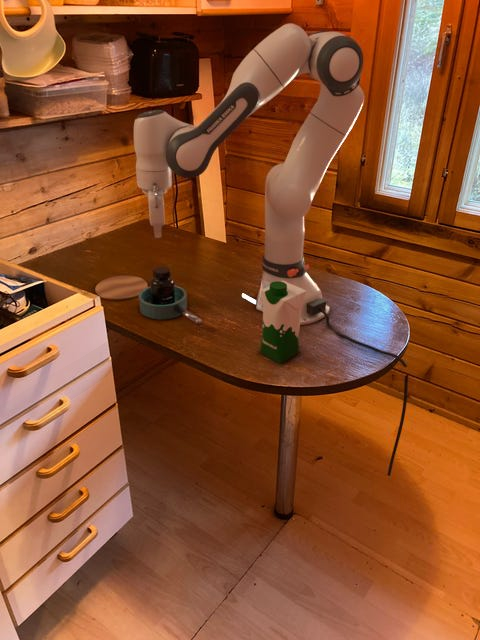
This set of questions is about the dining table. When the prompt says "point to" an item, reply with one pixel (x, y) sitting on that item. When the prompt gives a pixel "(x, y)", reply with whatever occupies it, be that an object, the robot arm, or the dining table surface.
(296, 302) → the milk carton
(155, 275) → the supplement bottle
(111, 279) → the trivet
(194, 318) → the pan handle
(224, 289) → the dining table surface
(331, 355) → the dining table surface
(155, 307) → the pan
